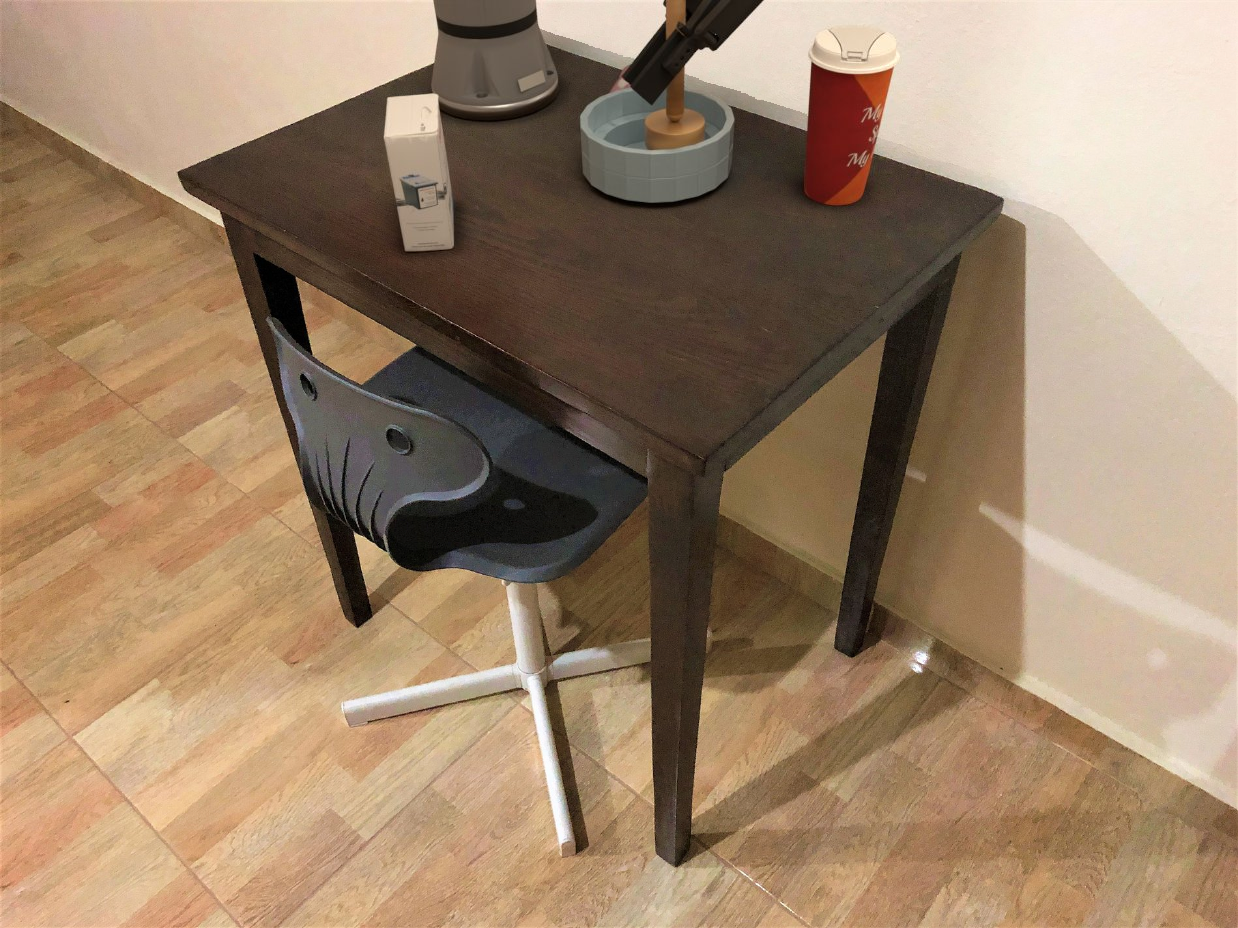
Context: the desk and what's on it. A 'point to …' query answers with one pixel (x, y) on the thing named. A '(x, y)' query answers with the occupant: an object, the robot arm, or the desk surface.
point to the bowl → (653, 174)
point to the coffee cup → (845, 109)
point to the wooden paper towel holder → (674, 102)
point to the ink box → (419, 172)
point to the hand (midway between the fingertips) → (636, 90)
